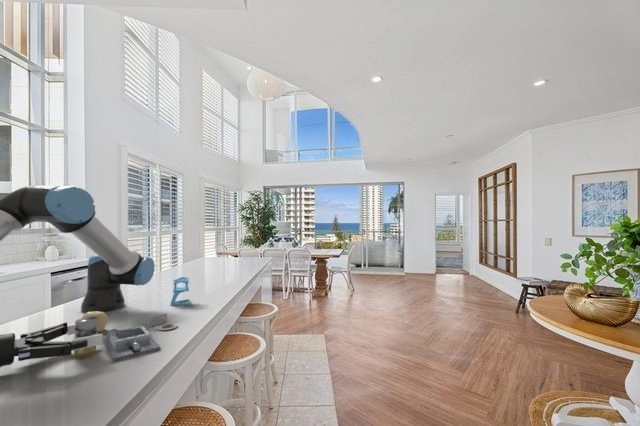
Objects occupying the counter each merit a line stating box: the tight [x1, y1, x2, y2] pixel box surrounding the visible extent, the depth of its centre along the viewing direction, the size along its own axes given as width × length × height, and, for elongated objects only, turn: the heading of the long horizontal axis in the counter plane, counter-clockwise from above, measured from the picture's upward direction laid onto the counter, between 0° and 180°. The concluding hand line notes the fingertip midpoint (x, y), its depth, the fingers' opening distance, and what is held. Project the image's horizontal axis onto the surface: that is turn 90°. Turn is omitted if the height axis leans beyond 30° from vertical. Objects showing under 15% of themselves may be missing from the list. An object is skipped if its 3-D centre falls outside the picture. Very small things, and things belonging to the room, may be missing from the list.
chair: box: [169, 276, 191, 306], centre depth 138 cm, size 8×8×12 cm
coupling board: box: [102, 325, 161, 363], centre depth 94 cm, size 20×12×4 cm, turn 44°
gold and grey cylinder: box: [73, 317, 98, 360], centre depth 86 cm, size 5×5×10 cm
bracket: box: [148, 313, 178, 331], centre depth 109 cm, size 7×10×4 cm, turn 57°
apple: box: [80, 311, 108, 333], centre depth 103 cm, size 8×8×8 cm
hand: (98, 331), depth 88 cm, fingers open, 13 cm apart
